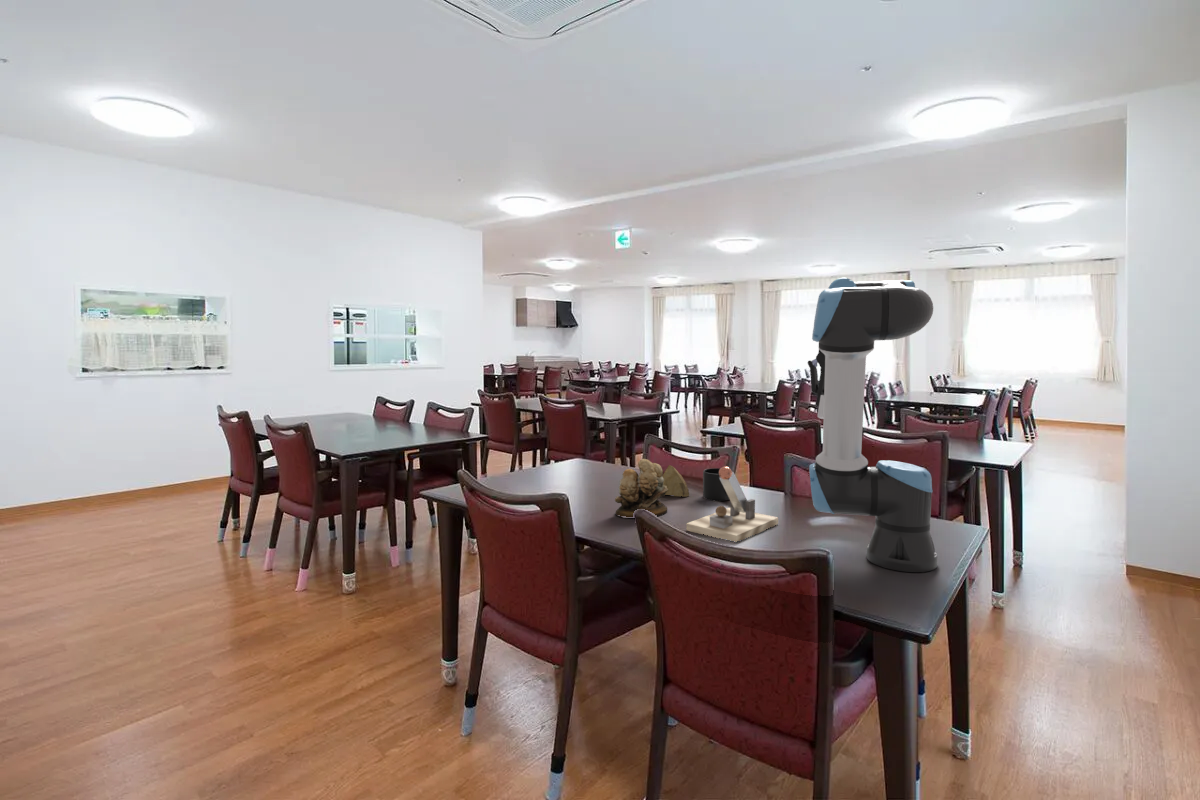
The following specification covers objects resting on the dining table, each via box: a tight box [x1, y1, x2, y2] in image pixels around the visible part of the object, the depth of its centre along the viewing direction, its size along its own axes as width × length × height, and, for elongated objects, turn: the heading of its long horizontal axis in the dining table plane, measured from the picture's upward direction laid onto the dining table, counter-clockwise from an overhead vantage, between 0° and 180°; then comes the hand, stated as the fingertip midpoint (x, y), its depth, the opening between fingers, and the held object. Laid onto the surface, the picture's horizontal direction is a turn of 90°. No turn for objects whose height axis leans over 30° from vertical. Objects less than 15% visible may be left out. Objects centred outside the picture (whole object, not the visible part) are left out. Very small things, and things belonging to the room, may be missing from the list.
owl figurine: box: [614, 458, 668, 517], centre depth 189 cm, size 18×12×17 cm, turn 119°
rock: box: [662, 464, 690, 498], centre depth 210 cm, size 11×9×10 cm
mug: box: [702, 467, 730, 502], centre depth 206 cm, size 9×12×9 cm
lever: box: [719, 465, 748, 513], centre depth 173 cm, size 4×4×17 cm
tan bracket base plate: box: [686, 498, 779, 542], centre depth 174 cm, size 22×16×7 cm
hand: (821, 417), depth 178 cm, fingers closed
